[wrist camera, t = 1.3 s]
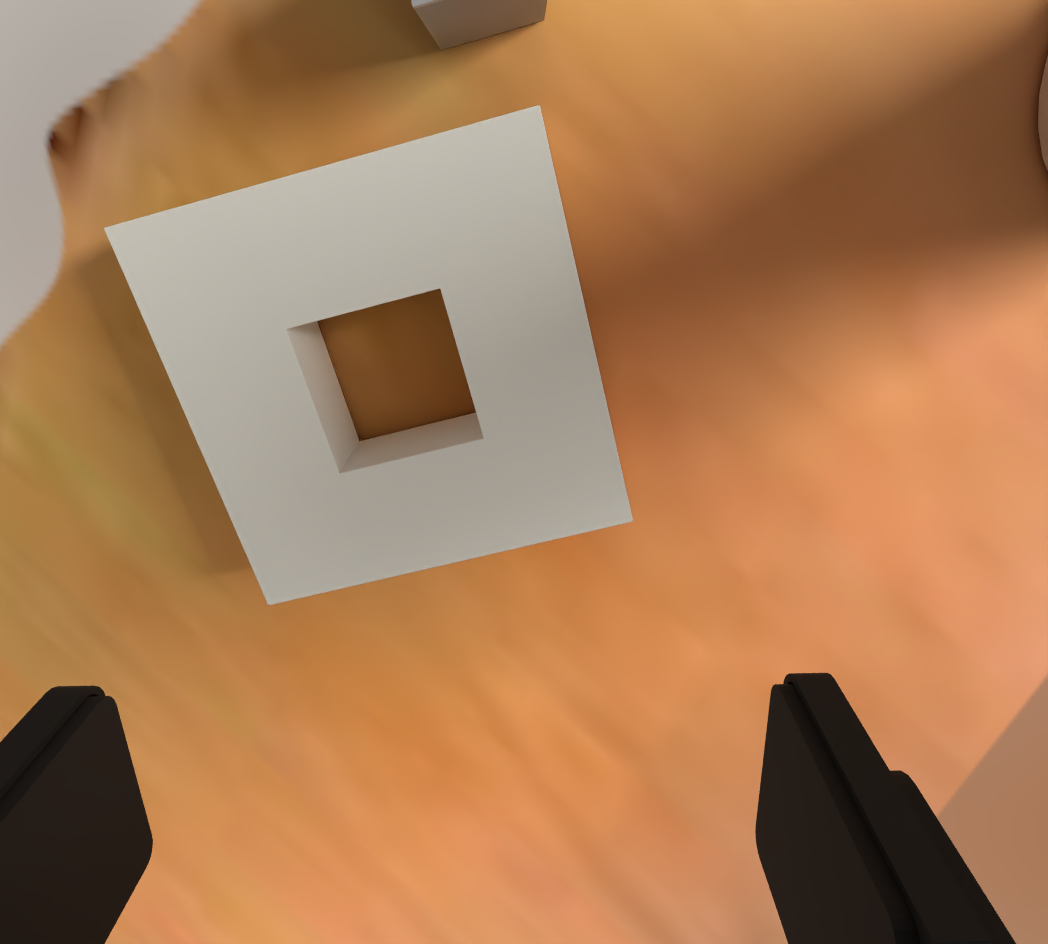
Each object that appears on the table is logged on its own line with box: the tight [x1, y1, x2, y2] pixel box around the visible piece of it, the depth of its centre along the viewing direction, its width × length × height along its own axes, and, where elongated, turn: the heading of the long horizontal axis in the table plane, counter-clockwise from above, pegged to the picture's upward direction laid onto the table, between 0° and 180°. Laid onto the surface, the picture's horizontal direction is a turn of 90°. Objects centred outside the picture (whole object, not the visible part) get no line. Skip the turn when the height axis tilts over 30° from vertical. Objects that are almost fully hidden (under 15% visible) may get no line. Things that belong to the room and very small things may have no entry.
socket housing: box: [104, 105, 633, 605], centre depth 31 cm, size 16×16×4 cm
